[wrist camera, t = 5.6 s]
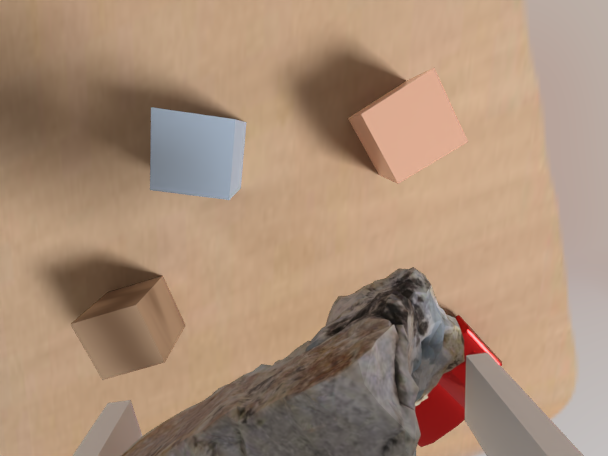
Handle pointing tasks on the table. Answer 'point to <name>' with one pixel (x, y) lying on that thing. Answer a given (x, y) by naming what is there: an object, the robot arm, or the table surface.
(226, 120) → the slate-blue cube
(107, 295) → the walnut cube
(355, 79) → the table surface
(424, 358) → the mineral specimen
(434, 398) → the toy car
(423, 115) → the salmon-pink cube
